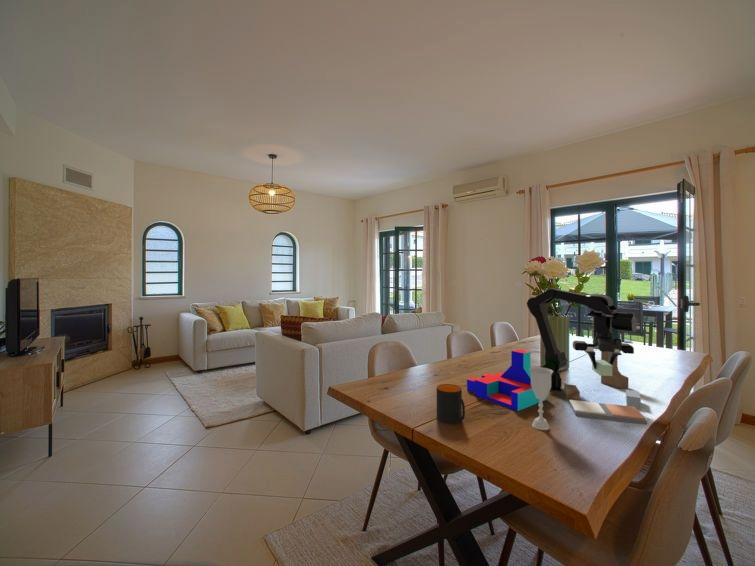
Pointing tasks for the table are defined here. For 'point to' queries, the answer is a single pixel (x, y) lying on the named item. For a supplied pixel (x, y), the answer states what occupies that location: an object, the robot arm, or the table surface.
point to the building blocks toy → (508, 384)
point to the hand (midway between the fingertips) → (601, 369)
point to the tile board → (607, 411)
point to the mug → (450, 404)
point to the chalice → (540, 392)
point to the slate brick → (633, 399)
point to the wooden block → (614, 374)
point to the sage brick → (603, 368)
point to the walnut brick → (571, 392)
